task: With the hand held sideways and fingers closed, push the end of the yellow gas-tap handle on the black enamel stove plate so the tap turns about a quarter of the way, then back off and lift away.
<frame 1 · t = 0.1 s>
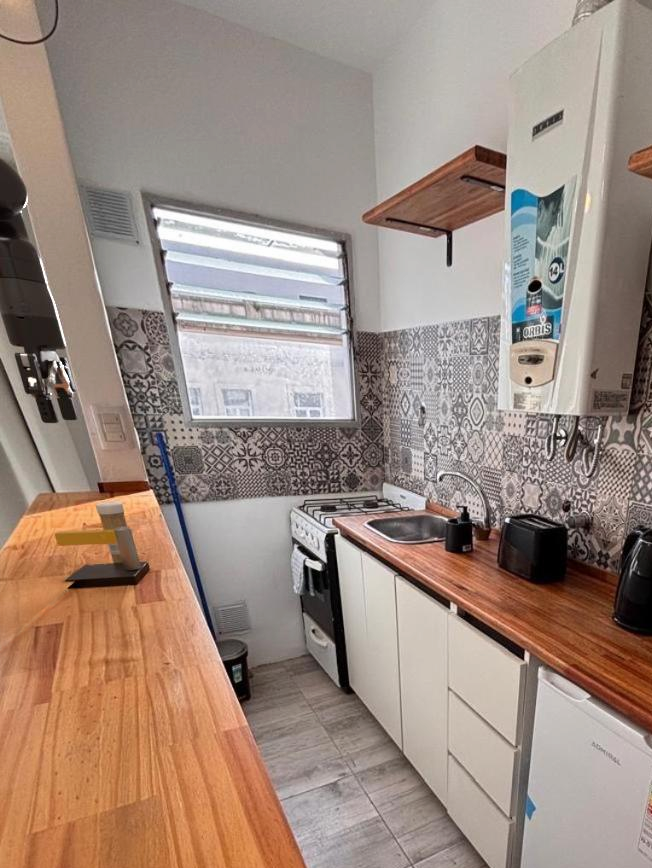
hand: (61, 421, 92), 29 cm above the table, tool pointing down, fingers open, 8 cm apart
stove plate: (111, 578, 103), on the table
sprinkles bottle: (126, 567, 111), on the table
gas tap: (99, 550, 101), point 6 cm above the table, hinge at 0.0°
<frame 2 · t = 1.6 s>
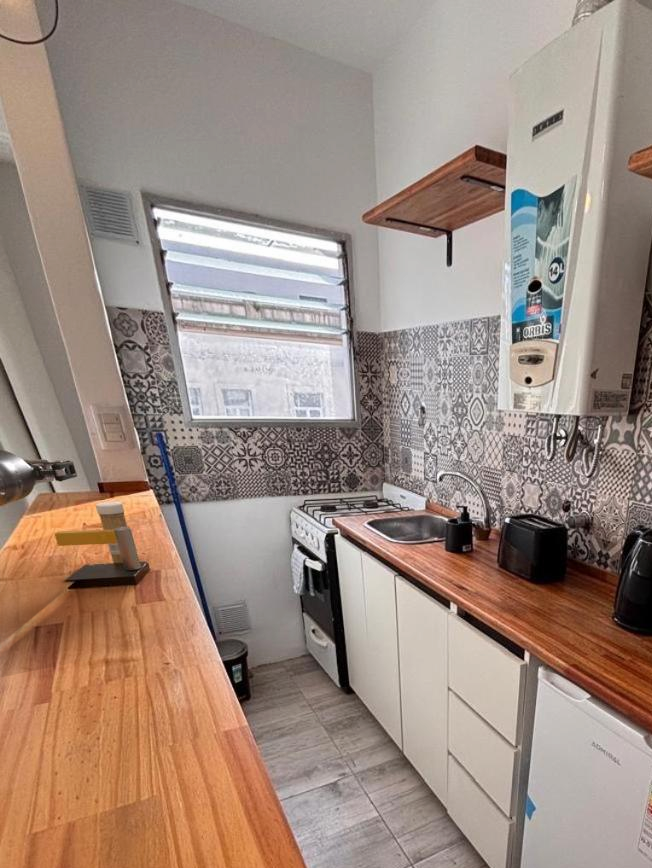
hand: (36, 467, 89), 22 cm above the table, tool horizontal, fingers open, 8 cm apart
nothing on the table moved.
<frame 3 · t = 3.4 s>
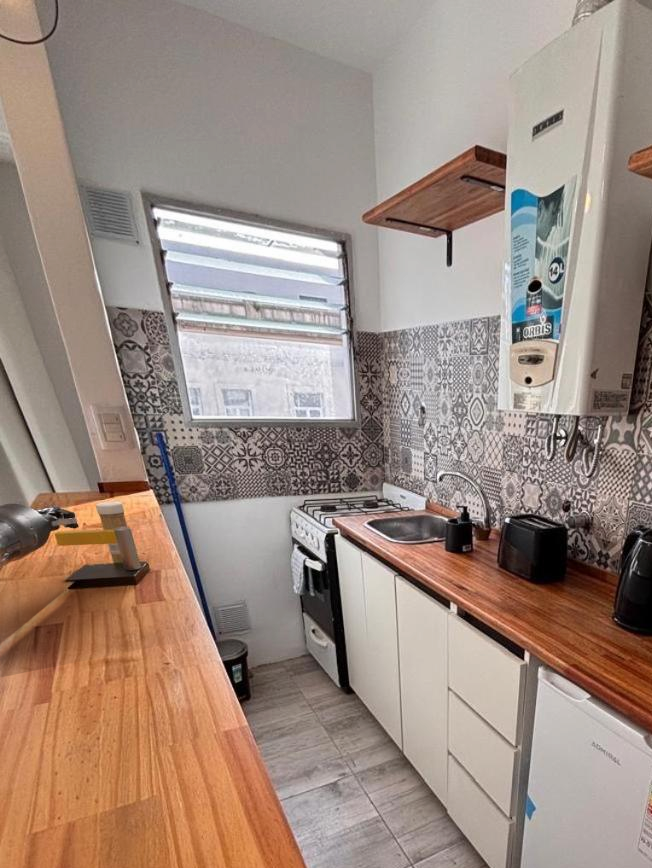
hand: (55, 511, 93), 14 cm above the table, tool horizontal, fingers closed
nothing on the table moved.
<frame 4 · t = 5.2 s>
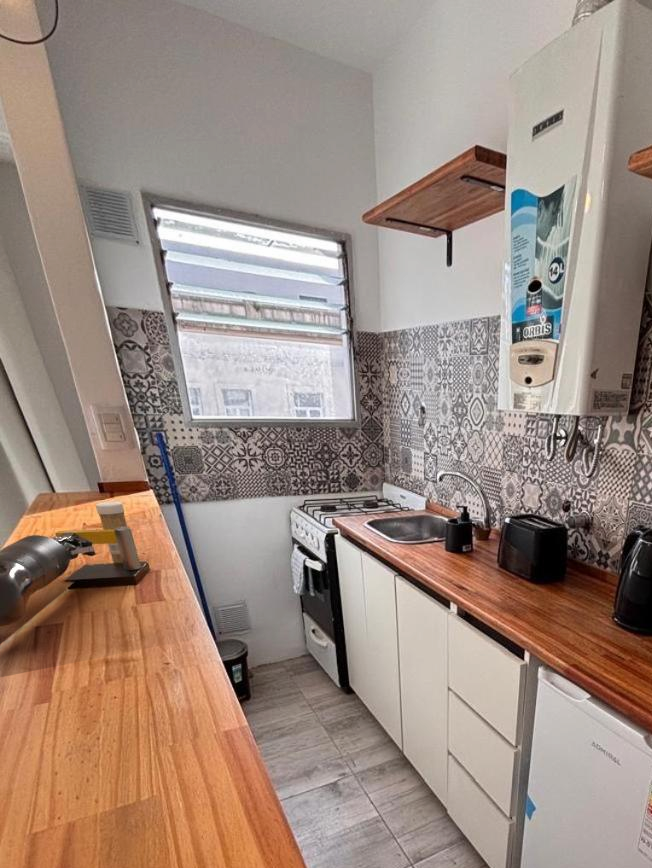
hand: (72, 537, 98), 9 cm above the table, tool horizontal, fingers closed
gas tap: (99, 549, 101), point 6 cm above the table, hinge at 2.3°, touching gripper
everything else where it was.
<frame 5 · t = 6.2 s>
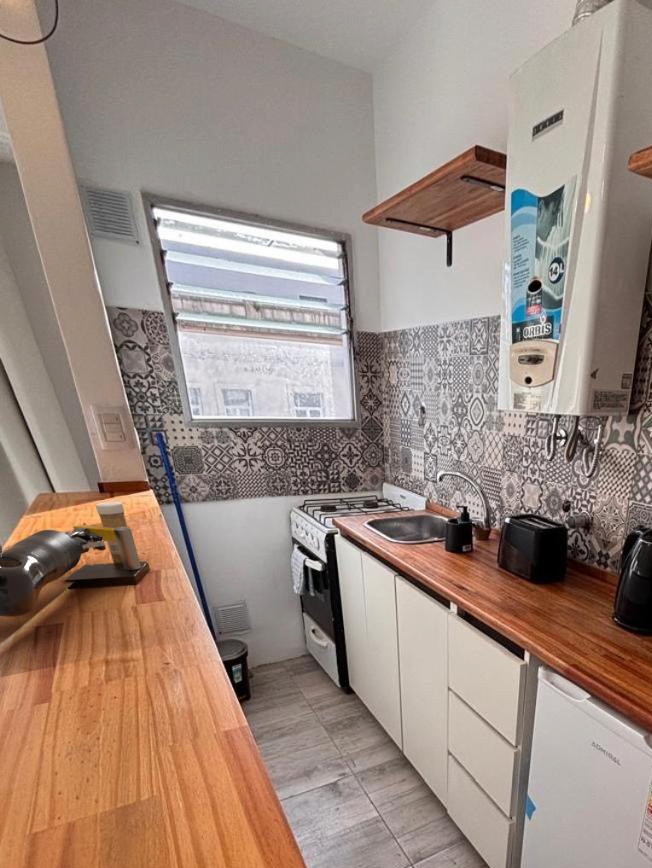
hand: (84, 533, 102), 9 cm above the table, tool horizontal, fingers closed
gas tap: (107, 546, 103), point 6 cm above the table, hinge at 30.3°, touching gripper
everything else where it was.
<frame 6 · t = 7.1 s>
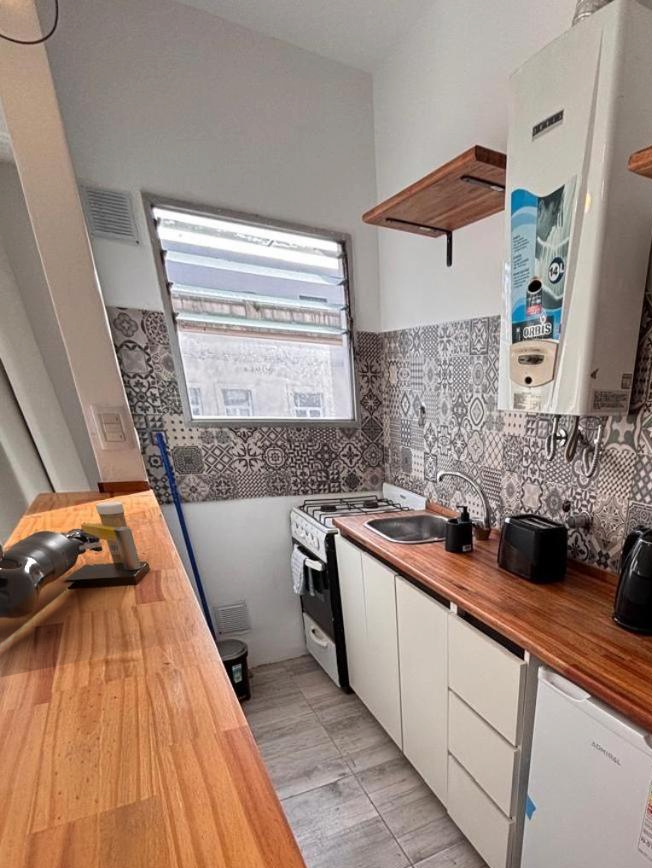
hand: (79, 534, 101), 8 cm above the table, tool horizontal, fingers closed
gas tap: (110, 545, 103), point 6 cm above the table, hinge at 39.0°
everything else where it was.
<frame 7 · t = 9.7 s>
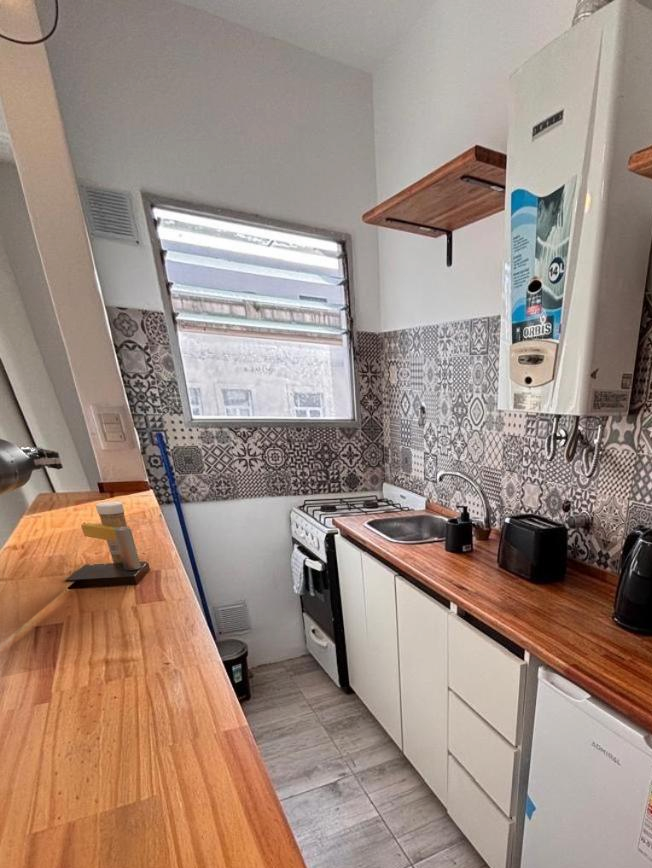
hand: (38, 453, 89), 24 cm above the table, tool horizontal, fingers closed
nothing on the table moved.
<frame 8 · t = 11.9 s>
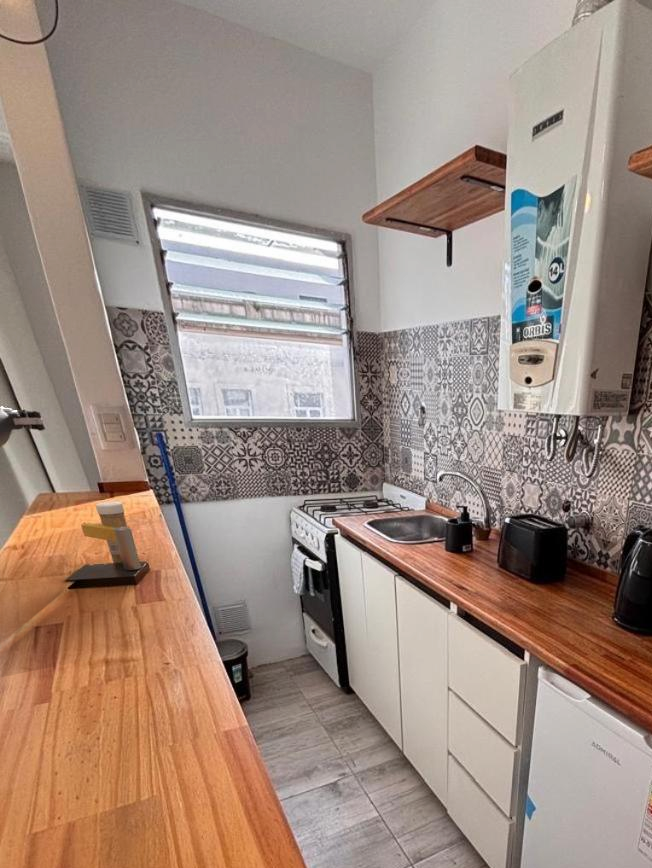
hand: (21, 417, 84), 30 cm above the table, tool horizontal, fingers closed
nothing on the table moved.
at the end: gas tap at +39° (first picture: +0°); sprinkles bottle moved 0.2 cm from its start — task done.
